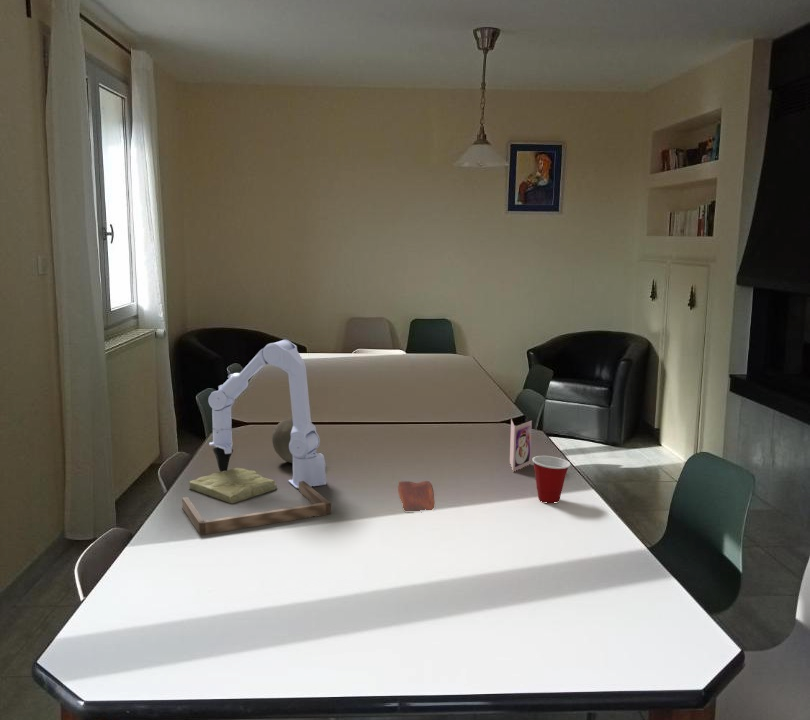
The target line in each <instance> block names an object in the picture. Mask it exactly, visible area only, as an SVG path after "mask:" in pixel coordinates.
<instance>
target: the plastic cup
mask: <svg viewBox="0 0 810 720" xmlns="http://www.w3.org/2000/svg"><path fill="white" fill-rule="evenodd" d="M531 460H532V463H533V469H534V474H535V475H534V476H535V482H536V483H535V484H536V489H537V497H538V501H539V500H540V501H539V502H541V501H542V502H541V503H543V502H547V503H554V502H558V501H559V502H560V500H561V497H562V496H561V494H562V491H563V488H564V485H565V484H564V483H565V480H566V475H567V472H568V469H569V468H570V466H571V465H572V464H571V462H570V461H568V460H567V459H564V458H560V457H557V456H551V455H537V456H534V457H532V458H531ZM559 502H558V503H559ZM547 503H546V504H547ZM554 504H555V503H554Z"/></svg>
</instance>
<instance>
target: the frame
mask: <svg viewBox="0 0 810 720" xmlns="http://www.w3.org/2000/svg"><path fill="white" fill-rule="evenodd" d="M299 491H300V492H301V493H302V494H303V497H304V498H306V497H307V498H308V499H309V500H310V501H309V500H308V499H307V498H306V499H307V500H308V501H309V502H311V504H304V505H299V506H292V507H291V506H290V507H285V508H280V509H279V508H278V509H277V508H276V509H272V510H266V511H260V512H253V513H245V514H239V515H231V516H227V517H219V518H213V519H206V520H205V519H204V518H203V517H202V514H200V512H199V511H198V510H197V507H195V505H194V504H193V502H192V501H191V500H190V498H189V497H188V496H185V497H182V498H181V504H182V509H183V511H184V513H185V515H186V516H187V518H188V519H189V521H190V522H191V523H192V526H194V528H195V529H196V532H197V533H198V534H199V535H200V536H202V535H208V534H209V535H210V534H215V533H221V532H227V531H233V530H241V529H246V528H251V527H258V526H264V525H271V524H277V523H283V522H290V521H295V520H296V519H297V520H302V519H301V518H303V519H308V518H307V517H309V518H312V517H311V516H315V517H319V516H318V515H322V516H325V515H324V514H328V515H331V514H332V503H331V502H330V501H329V500H328V499H326V498H325V497H324V496H323V495H322V494H321V493H319V492H318V491H316V489H314V488H313V487H311V486H309V485H308V484H307V483H306V482H304V481H299V488H298V492H299ZM300 492H299V493H300ZM301 493H300V494H301ZM302 494H301V495H302ZM330 513H331V514H330Z"/></svg>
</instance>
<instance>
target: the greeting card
mask: <svg viewBox="0 0 810 720" xmlns="http://www.w3.org/2000/svg"><path fill="white" fill-rule="evenodd" d="M532 422H533V420H529V421H526V422H524V423H521V424H519V425H515V424H514V421H513V419H512V418H510V442H509V444H510V445H509V464H511V465H510V467H512V468H511V470H513V471H512V473H515V472H517V471H519V470H518V469H520V468H522V467H524V466H526V465H528V464H530V465H531V455H532V454H531V451H532V450H531V449H532V425H533V423H532ZM528 466H529V465H528ZM526 467H527V466H526ZM524 468H525V467H524ZM522 469H523V468H522ZM516 470H517V471H516ZM520 470H521V469H520ZM514 471H515V472H514Z"/></svg>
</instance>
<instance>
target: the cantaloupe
mask: <svg viewBox="0 0 810 720" xmlns="http://www.w3.org/2000/svg"><path fill="white" fill-rule="evenodd" d="M292 428H293V418H285V419H283V420H280V422H278V424H276V425H275V427H274V429H273V432H272V435H271V442H272V446H273V447H272V448H273V449H274V451H275V452H276V455H278V456H279V458H281V459H282V460H283V461H286V462H287V463H289V464H292V465H293V455H292V454H291V452H290V450H289V443H290V440H291V431H292Z"/></svg>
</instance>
